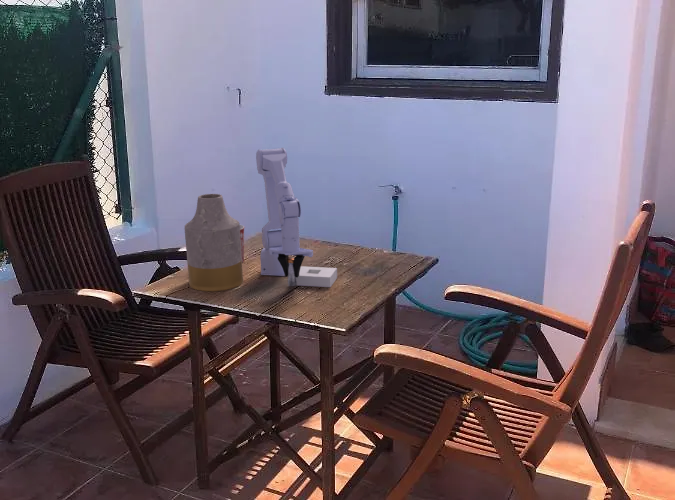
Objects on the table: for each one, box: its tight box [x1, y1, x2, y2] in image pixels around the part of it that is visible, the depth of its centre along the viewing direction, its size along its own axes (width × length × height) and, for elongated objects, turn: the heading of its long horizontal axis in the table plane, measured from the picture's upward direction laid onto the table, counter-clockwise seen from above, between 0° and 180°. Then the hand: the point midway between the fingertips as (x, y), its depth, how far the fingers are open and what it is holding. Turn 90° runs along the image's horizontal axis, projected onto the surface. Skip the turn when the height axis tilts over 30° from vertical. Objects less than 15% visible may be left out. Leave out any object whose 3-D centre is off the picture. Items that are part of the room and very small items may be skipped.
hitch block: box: [296, 265, 338, 288], centre depth 250 cm, size 14×10×4 cm
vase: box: [184, 193, 244, 293], centre depth 247 cm, size 18×18×30 cm
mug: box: [240, 224, 246, 264], centre depth 272 cm, size 13×9×14 cm
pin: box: [287, 257, 298, 287], centre depth 241 cm, size 3×3×9 cm
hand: (292, 276), depth 242 cm, fingers closed on pin, 3 cm apart
